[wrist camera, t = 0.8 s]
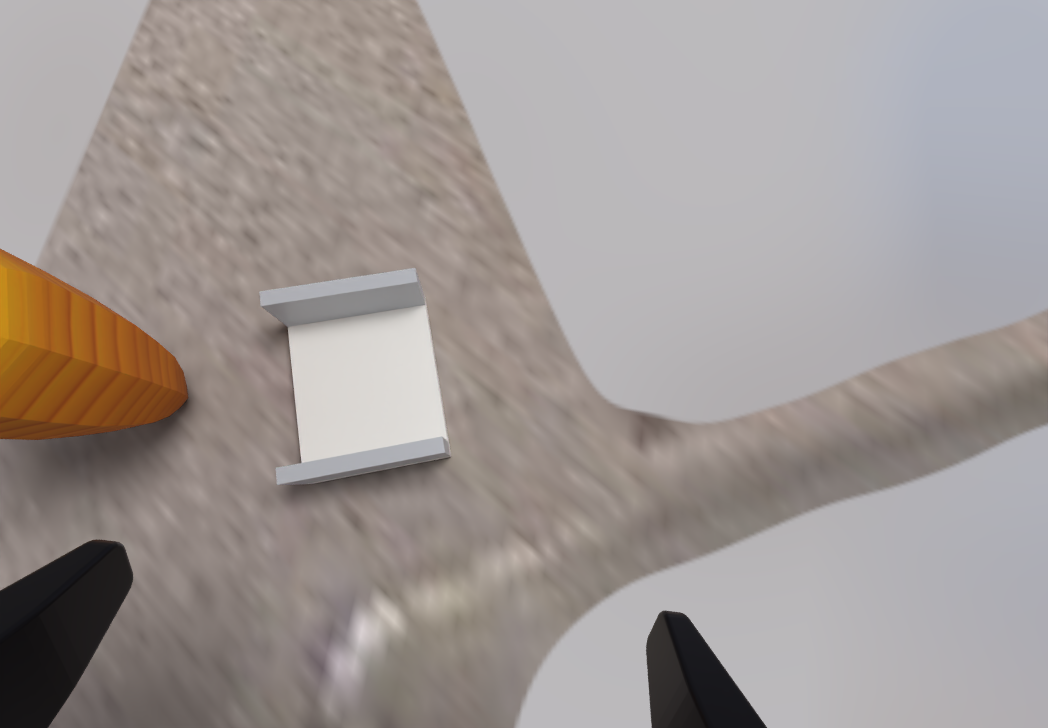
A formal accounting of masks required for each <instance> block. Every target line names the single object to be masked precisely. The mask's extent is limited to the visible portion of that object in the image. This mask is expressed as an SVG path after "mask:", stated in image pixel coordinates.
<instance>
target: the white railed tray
mask: <svg viewBox="0 0 1048 728" xmlns="http://www.w3.org/2000/svg"><path fill="white" fill-rule="evenodd" d="M260 303H261V307H263V308H264V309H265V310H267V311H268V312H269V313H270V314H272V315H273V316H274V317H276V318H277V319H278V320H279V321H281V322H282V323H283V324H285V325H286V326H287V327H288V335H289V345H290V355H291V364H292V374H293V384H294V394H295V403H296V413H297V423H298V433H299V442H300V452H301V462H302V463H299V464H294V465H288V466H283V467H278V468H276V477H277V485H294V484H314V483H319V482H325V481H330V480H335V479H340V478H345V477H350V476H355V475H361V474H366V473H371V472H376V471H381V470H386V469H391V468H397V467H402V466H407V465H412V464H417V463H422V462H428V461H433V460H438V459H443V458H448V457H451V451H450V445H449V438H448V432H447V426H446V420H445V414H444V408H443V402H442V396H441V390H440V383H439V377H438V371H437V365H436V359H435V353H434V347H433V341H432V335H431V329H430V322H429V316H428V310H427V304H426V298H425V295H424V292H423V289H422V286H421V284H420V281H419V278H418V275H417V272H416V269H415V268H411V269H405V270H398V271H392V272H385V273H378V274H372V275H365V276H359V277H352V278H346V279H339V280H332V281H326V282H319V283H313V284H306V285H299V286H293V287H286V288H280V289H273V290H266V291H260Z"/></svg>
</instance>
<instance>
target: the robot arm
mask: <svg viewBox="0 0 1048 728" xmlns="http://www.w3.org/2000/svg"><path fill="white" fill-rule="evenodd" d="M132 582H133V572H132V569H131V566H130V562H129V559H128V556H127V553H126V550H125V547H124V546H123V544H121V543H120V542H115V541H107V540H92V541H89V542H87V543H85V544H83V545H81V546H79V547H78V548H76V549H74V550H72V551H70V552H69V553H67V554H65V555H63V556H61V557H60V558H58V559H56V560H54V561H52V562H51V563H49V564H47V565H45V566H43V567H42V568H40V569H38V570H36V571H35V572H33V573H31V574H29V575H27V576H26V577H24V578H22V579H20V580H18V581H17V582H15V583H13V584H11V585H9V586H8V587H6V588H4V589H2V590H1V591H0V728H48V727H49V725H50V724H51V722H52V721H53V719H54V718H55V716H56V715H57V713H58V712H59V710H60V709H61V708H62V706H63V705H64V703H65V702H66V700H67V698H68V697H69V695H70V694H71V692H72V691H73V689H74V688H75V686H76V684H77V683H78V681H79V679H80V678H81V676H82V674H83V673H84V671H85V669H86V667H87V666H88V664H89V662H90V660H91V658H92V657H93V655H94V653H95V651H96V649H97V648H98V646H99V644H100V642H101V640H102V639H103V637H104V635H105V633H106V632H107V630H108V628H109V626H110V624H111V623H112V621H113V619H114V617H115V615H116V614H117V612H118V610H119V608H120V606H121V605H122V603H123V601H124V599H125V597H126V596H127V594H128V592H129V590H130V588H131V585H132ZM646 655H647V669H648V682H649V695H650V709H651V723H652V728H767V727H766V725H765V724H764V723H763V721H762V720H761V719H760V717H759V716H758V714H757V713H756V712H755V710H754V709H753V707H752V706H751V705H750V703H749V702H748V701H747V699H746V698H745V696H744V695H743V693H742V692H741V691H740V689H739V688H738V686H737V685H736V684H735V682H734V681H733V679H732V678H731V677H730V676H729V674H728V672H727V671H726V670H725V669H724V667H723V666H722V664H721V663H720V661H719V660H718V658H717V657H716V656H715V654H714V653H713V651H712V650H711V649H710V647H709V646H708V644H707V643H706V642H705V640H704V639H703V637H702V636H701V635H700V633H699V632H698V630H697V629H696V628H695V626H694V625H693V623H692V622H691V621H690V619H689V618H688V617H687V616H686V615H685V614H683V613H680V612H672V611H662V612H661V613H659V615H658V617H657V619H656V621H655V623H654V626H653V628H652V630H651V632H650V634H649V636H648V640H647V645H646Z"/></svg>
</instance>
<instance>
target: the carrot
mask: <svg viewBox="0 0 1048 728" xmlns="http://www.w3.org/2000/svg"><path fill="white" fill-rule="evenodd" d="M187 399H188V393H187V386H186V381H185V377H184V373H183V370H182V369H181V367H180V365H179V364H178V362H177V360H176V358H175V357H174V356H173V355H172V354H171V353H170V352H168V351H167V350H166V349H165V348H164V347H163V346H162V345H160V344H159V343H158V342H157V341H156V340H154V339H153V338H152V337H150V336H149V335H148V334H146V333H145V332H144V331H142V330H141V329H140V328H138V327H137V326H136V325H134V324H133V323H131V322H129V321H128V320H126V319H125V318H123V317H122V316H120V315H119V314H117V313H115V312H114V311H112V310H111V309H109V308H108V307H106V306H105V305H103V304H101V303H100V302H98V301H97V300H95V299H94V298H92V297H90V296H88V295H87V294H85V293H83V292H81V291H79V290H78V289H76V288H74V287H72V286H70V285H68V284H67V283H65V282H63V281H61V280H59V279H58V278H56V277H54V276H52V275H50V274H48V273H47V272H45V271H43V270H41V269H39V268H37V267H35V266H33V265H31V264H29V263H27V262H25V261H23V260H21V259H19V258H17V257H15V256H14V255H12V254H9V253H8V252H5V251H4V250H2V249H0V439H25V440H41V439H52V438H63V437H73V436H82V435H90V434H97V433H104V432H111V431H117V430H121V429H126V428H131V427H135V426H140V425H144V424H149V423H154V422H156V421H159V420H161V419H164V418H166V417H169V416H170V415H171V414H173V413H174V412H175V411H176V410H178V409H179V408H180V407H181V406H182V405H183V404H184V402H185V401H186V400H187Z"/></svg>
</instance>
